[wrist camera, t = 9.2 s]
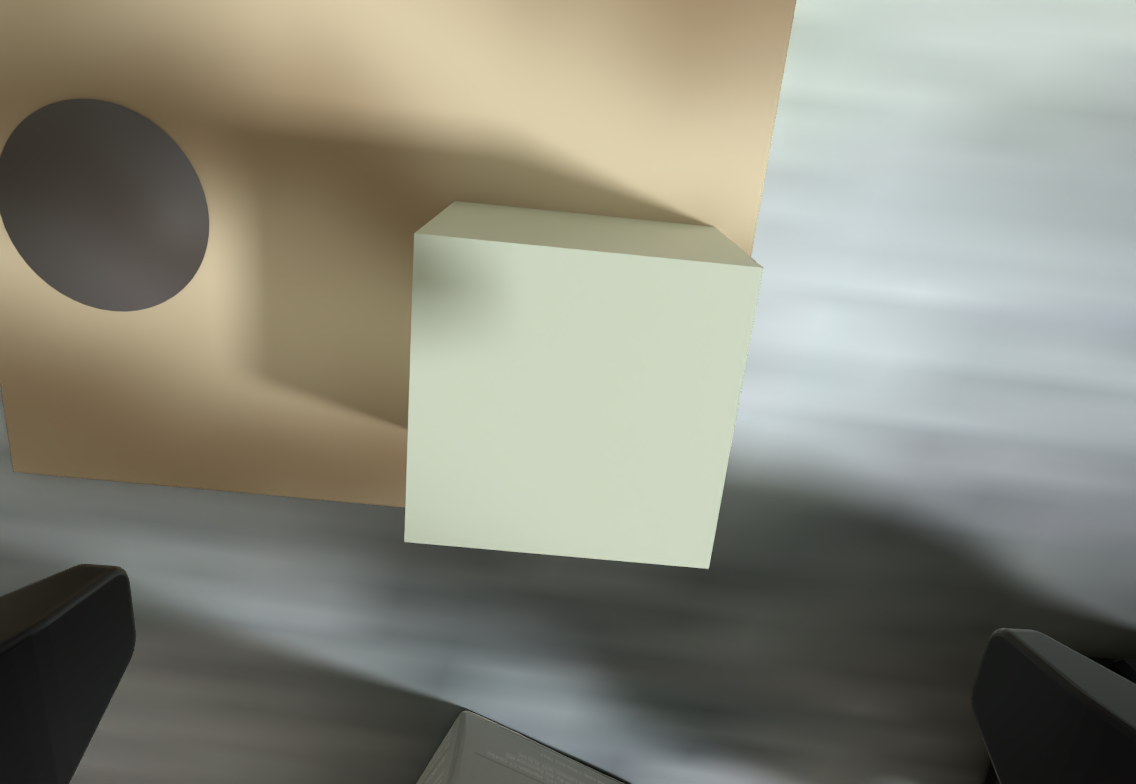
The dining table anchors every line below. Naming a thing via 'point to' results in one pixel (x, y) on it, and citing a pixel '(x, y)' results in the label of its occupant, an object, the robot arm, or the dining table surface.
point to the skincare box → (501, 758)
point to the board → (319, 204)
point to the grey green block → (574, 383)
